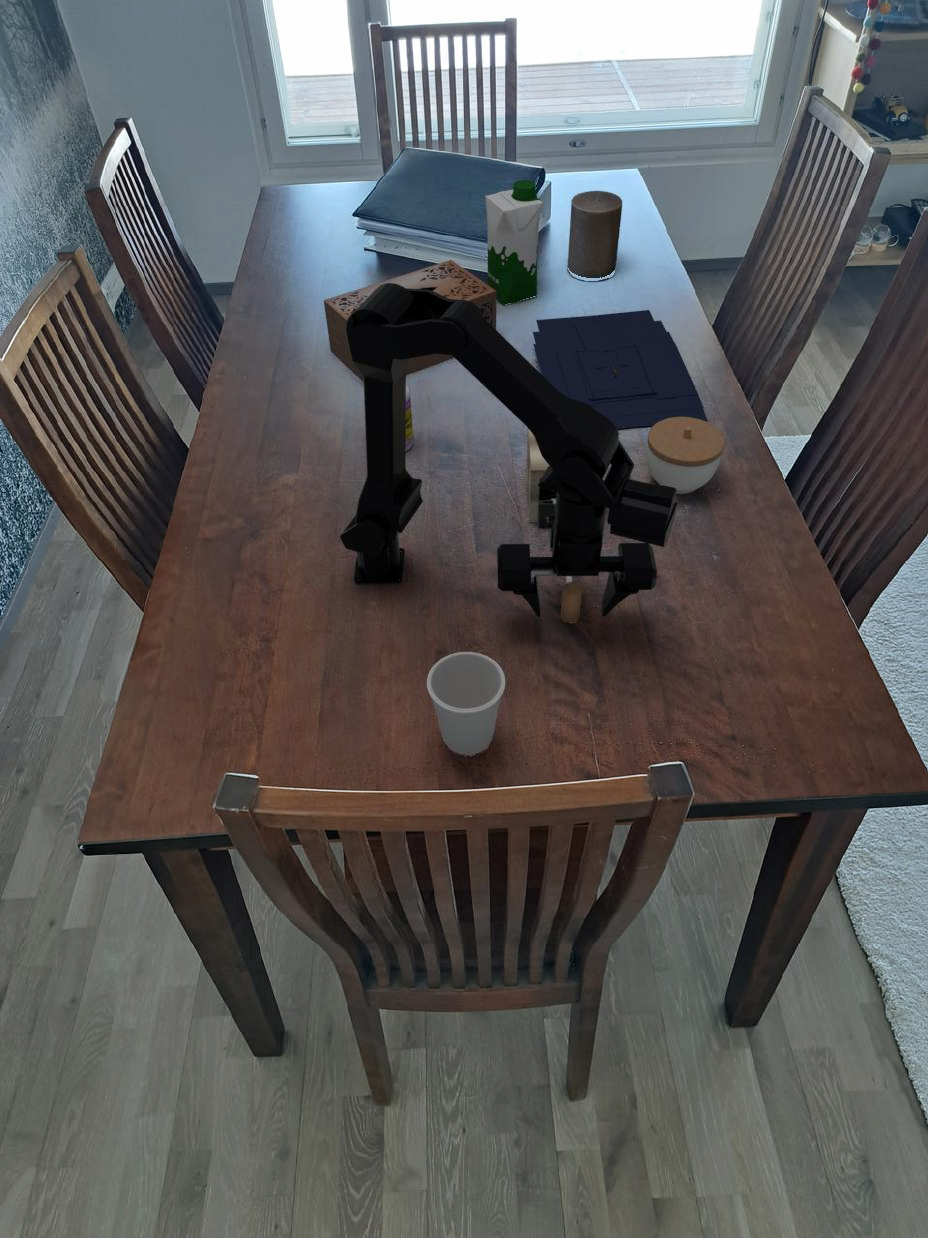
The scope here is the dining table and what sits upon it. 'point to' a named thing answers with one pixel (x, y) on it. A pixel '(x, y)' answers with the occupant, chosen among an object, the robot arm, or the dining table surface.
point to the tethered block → (570, 597)
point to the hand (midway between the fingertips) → (570, 614)
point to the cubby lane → (533, 475)
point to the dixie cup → (466, 699)
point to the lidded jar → (684, 453)
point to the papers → (618, 367)
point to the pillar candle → (594, 233)
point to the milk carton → (513, 241)
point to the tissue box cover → (437, 278)
